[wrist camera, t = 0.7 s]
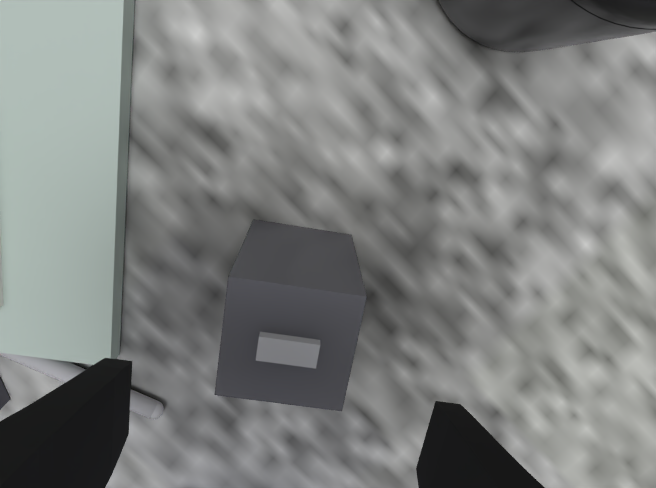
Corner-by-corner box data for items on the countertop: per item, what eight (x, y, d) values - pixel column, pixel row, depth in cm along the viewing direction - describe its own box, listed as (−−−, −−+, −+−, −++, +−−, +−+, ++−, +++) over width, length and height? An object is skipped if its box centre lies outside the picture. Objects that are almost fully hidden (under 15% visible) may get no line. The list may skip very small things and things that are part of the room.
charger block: (334, 321, 21) (342, 417, 15) (242, 308, 20) (212, 400, 14) (351, 234, 20) (368, 301, 14) (253, 219, 19) (226, 280, 13)
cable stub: (168, 401, 22) (163, 412, 21) (161, 414, 22) (156, 425, 21) (-25, 316, 20) (-39, 325, 19) (-31, 331, 20) (-44, 341, 20)
